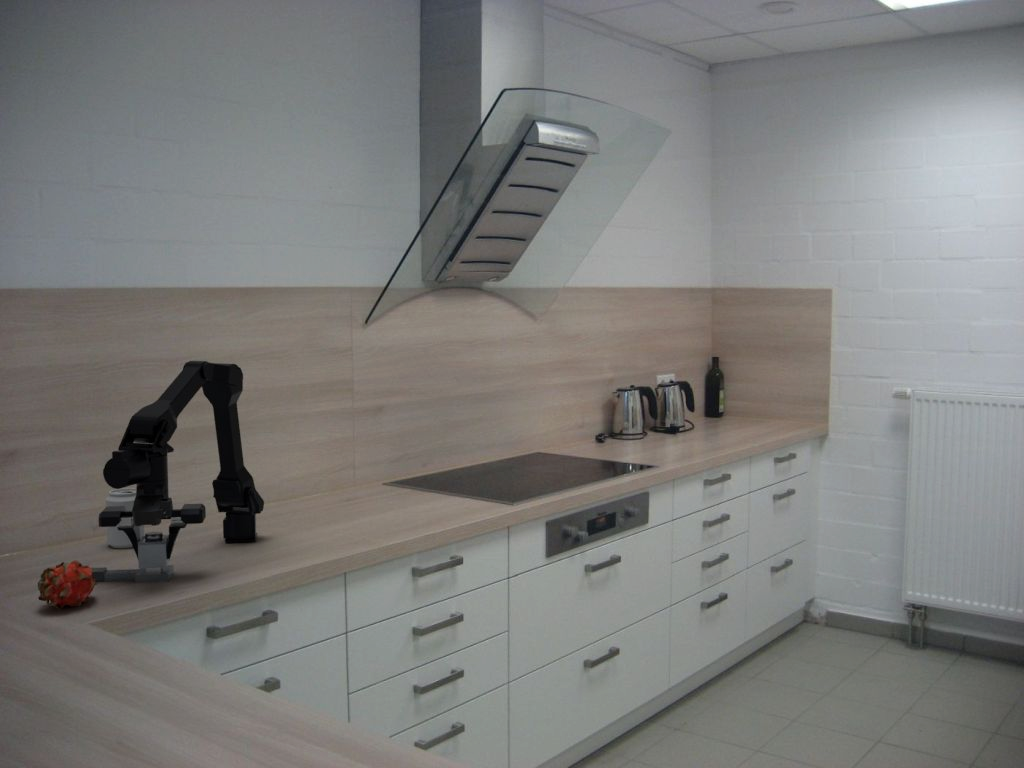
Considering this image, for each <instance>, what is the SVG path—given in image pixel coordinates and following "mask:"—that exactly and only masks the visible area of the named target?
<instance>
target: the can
mask: <svg viewBox="0 0 1024 768" xmlns="http://www.w3.org/2000/svg"><path fill="white" fill-rule="evenodd" d="M108 494H109V495H108V496H107V497H106V499H105V508H106V507H108V506H125V507H126V511H132V508H133V505H134V500H135V497H136V488H135V487H128V488H127V487H124V488H120V489H115V488H114V489H112V490H111V489H110V490H109V491H108ZM118 526H119V525H117V526H116V527H106V544H108V545H109V546H110V547H111V548H114V549H130V548H133V546H132V543H131V541H130V539H129V538H128V536H127V535H126V533H125V532H124V531H122V530H121V531H120V530H118V529H117V528H118ZM139 530H140V539H141V537H142V536H145V525H142V526H139Z"/></svg>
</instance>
